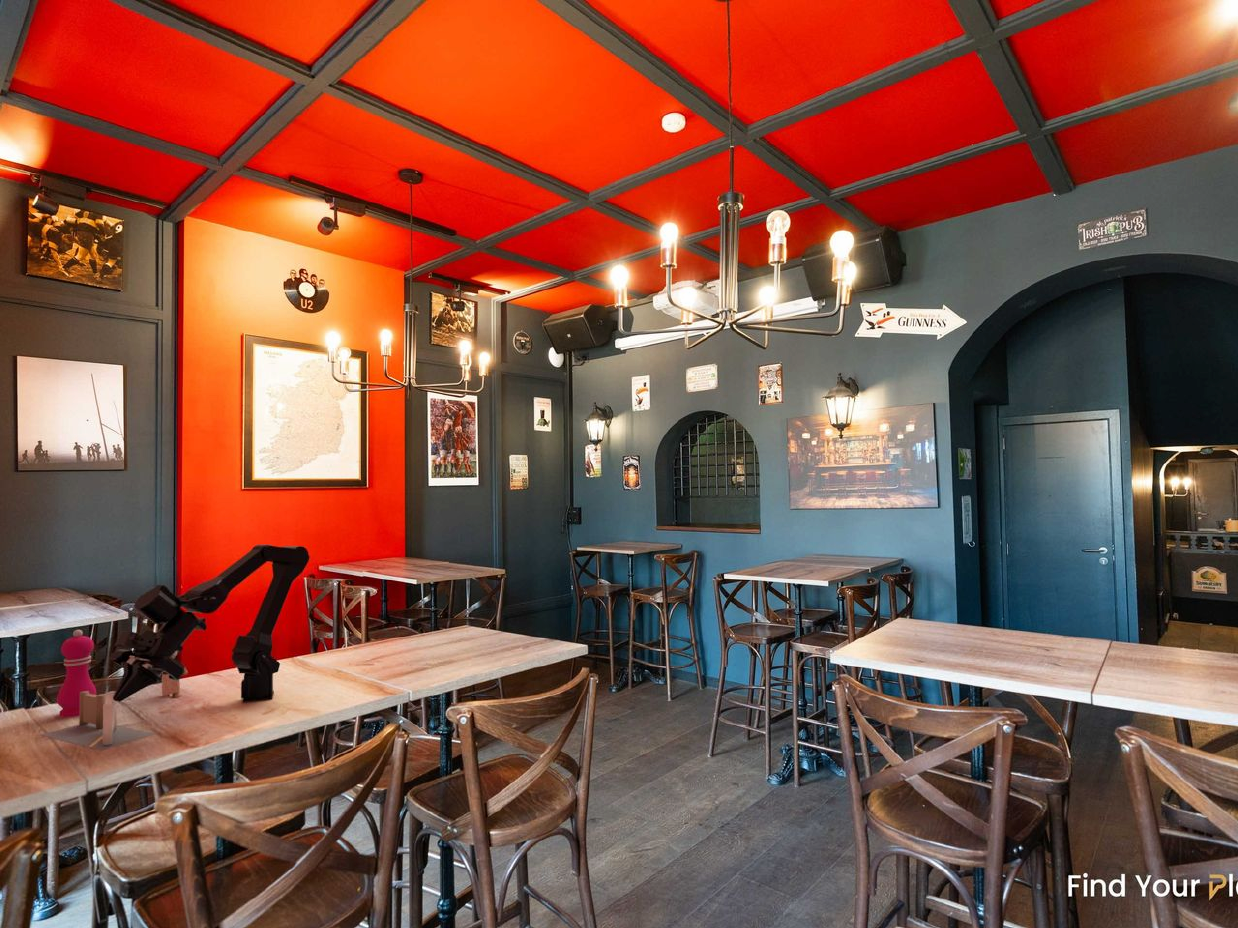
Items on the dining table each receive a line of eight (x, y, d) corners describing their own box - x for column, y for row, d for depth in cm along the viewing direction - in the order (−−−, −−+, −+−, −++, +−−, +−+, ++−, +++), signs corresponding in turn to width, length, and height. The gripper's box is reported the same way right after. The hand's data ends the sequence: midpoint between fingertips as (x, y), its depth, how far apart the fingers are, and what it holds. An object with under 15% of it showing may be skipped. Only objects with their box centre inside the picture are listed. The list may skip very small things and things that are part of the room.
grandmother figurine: (181, 692, 175) (181, 643, 175) (189, 694, 173) (189, 644, 173) (148, 700, 168) (148, 649, 169) (156, 702, 166) (156, 650, 167)
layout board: (39, 738, 142) (39, 701, 142) (94, 723, 151) (94, 688, 151) (100, 754, 132) (100, 714, 132) (155, 737, 141) (155, 699, 141)
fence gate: (105, 729, 144) (105, 692, 144) (116, 727, 145) (117, 690, 145) (101, 746, 134) (101, 706, 134) (113, 743, 135) (114, 704, 135)
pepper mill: (91, 709, 162) (92, 625, 163) (100, 714, 157) (101, 628, 158) (53, 717, 156) (54, 630, 157) (60, 723, 152) (62, 634, 153)
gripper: (119, 612, 149) (60, 675, 139) (169, 617, 141) (110, 684, 130) (157, 640, 156) (102, 702, 146) (206, 647, 148) (153, 713, 137)
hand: (115, 700), depth 140 cm, fingers closed
